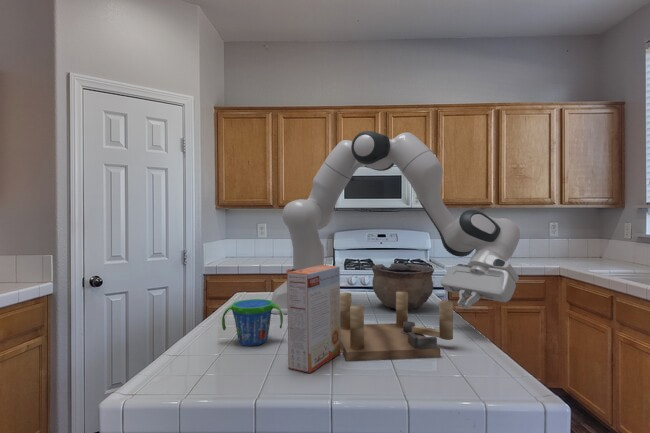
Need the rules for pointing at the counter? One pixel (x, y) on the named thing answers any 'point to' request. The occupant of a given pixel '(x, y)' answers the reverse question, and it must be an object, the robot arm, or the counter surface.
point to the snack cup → (252, 320)
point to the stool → (381, 335)
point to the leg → (444, 323)
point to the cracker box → (313, 317)
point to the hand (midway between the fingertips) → (462, 306)
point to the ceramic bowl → (403, 283)
